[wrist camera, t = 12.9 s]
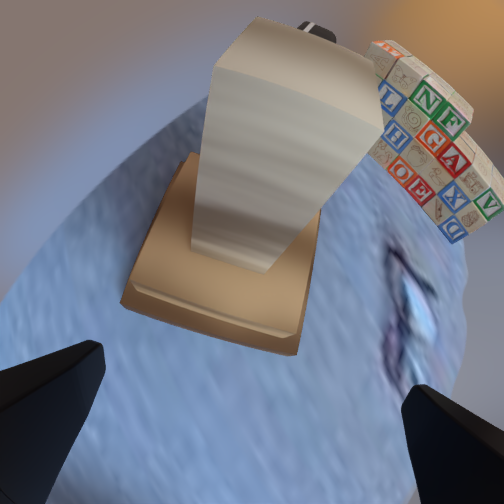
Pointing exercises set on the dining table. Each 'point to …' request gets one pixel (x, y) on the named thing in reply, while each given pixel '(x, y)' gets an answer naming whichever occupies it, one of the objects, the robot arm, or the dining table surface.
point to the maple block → (221, 269)
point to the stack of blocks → (432, 144)
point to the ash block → (278, 140)
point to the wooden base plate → (206, 323)
